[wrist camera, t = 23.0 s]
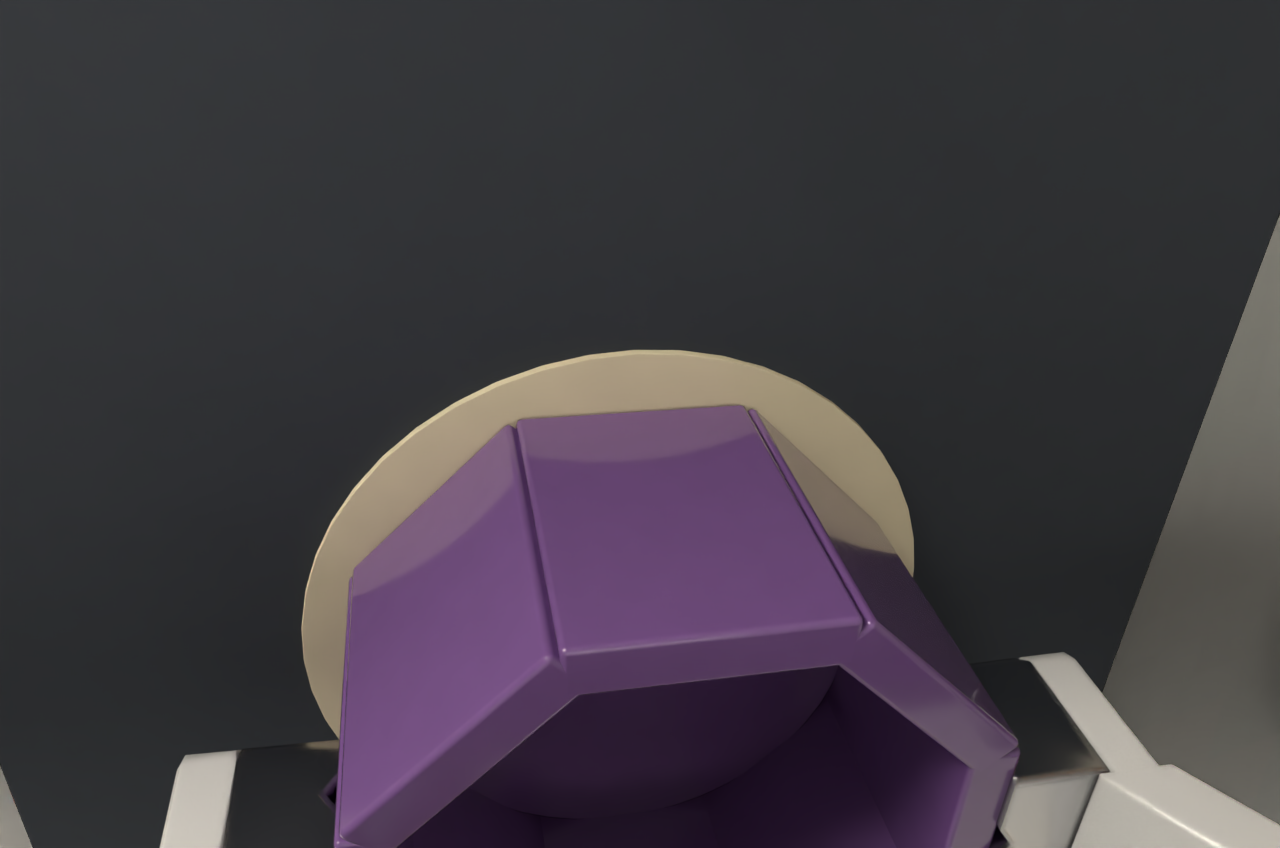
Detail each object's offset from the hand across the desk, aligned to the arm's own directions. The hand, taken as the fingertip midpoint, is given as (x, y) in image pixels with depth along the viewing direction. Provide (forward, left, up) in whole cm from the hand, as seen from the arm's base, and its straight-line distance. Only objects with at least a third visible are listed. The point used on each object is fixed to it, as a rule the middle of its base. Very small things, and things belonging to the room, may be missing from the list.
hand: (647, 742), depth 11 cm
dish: (0, 0, -2) cm, 2 cm away
